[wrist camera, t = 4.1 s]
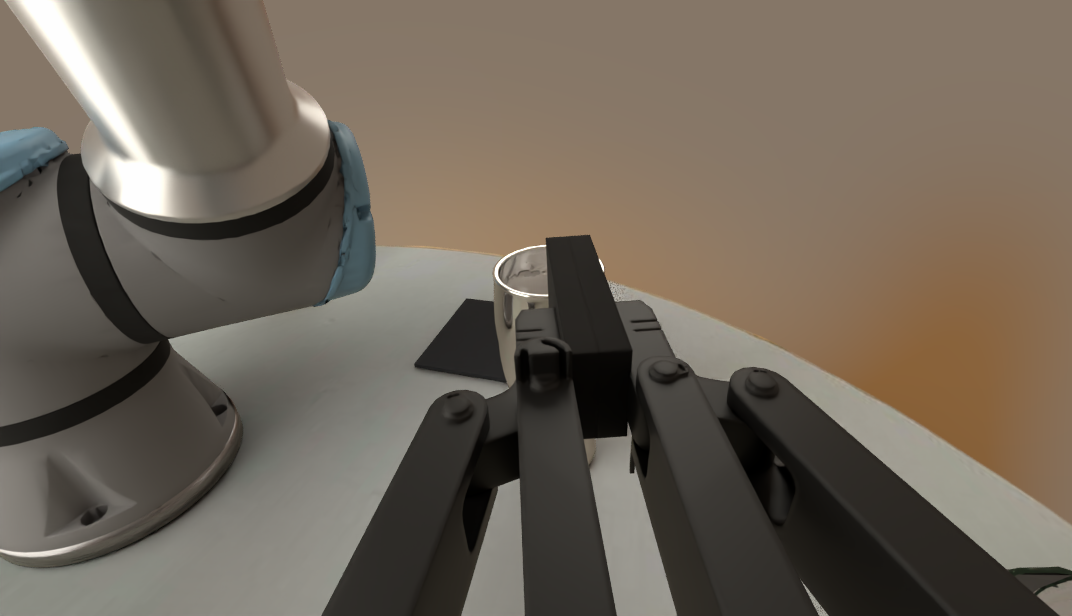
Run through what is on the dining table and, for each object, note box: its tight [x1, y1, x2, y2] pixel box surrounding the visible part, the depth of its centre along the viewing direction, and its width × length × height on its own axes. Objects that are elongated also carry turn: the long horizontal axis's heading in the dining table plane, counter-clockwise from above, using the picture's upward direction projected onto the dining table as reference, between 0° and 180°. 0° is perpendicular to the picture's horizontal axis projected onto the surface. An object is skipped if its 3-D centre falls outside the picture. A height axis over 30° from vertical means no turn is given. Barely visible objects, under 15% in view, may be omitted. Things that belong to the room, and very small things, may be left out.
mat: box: [414, 299, 507, 382], centre depth 48 cm, size 21×12×1 cm, turn 73°
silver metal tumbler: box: [493, 245, 605, 465], centre depth 33 cm, size 7×7×15 cm
